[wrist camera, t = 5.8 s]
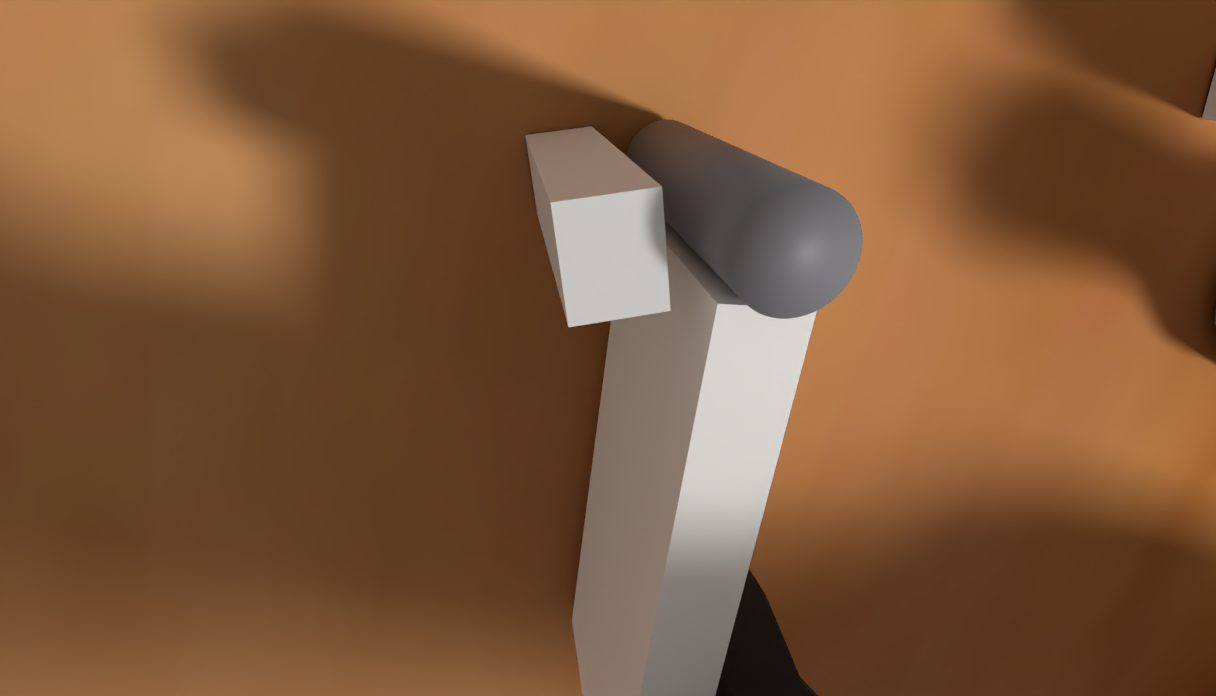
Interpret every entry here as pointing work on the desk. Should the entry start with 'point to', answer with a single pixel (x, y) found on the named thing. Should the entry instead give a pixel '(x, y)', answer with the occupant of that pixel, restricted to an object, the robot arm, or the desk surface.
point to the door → (699, 410)
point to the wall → (610, 224)
